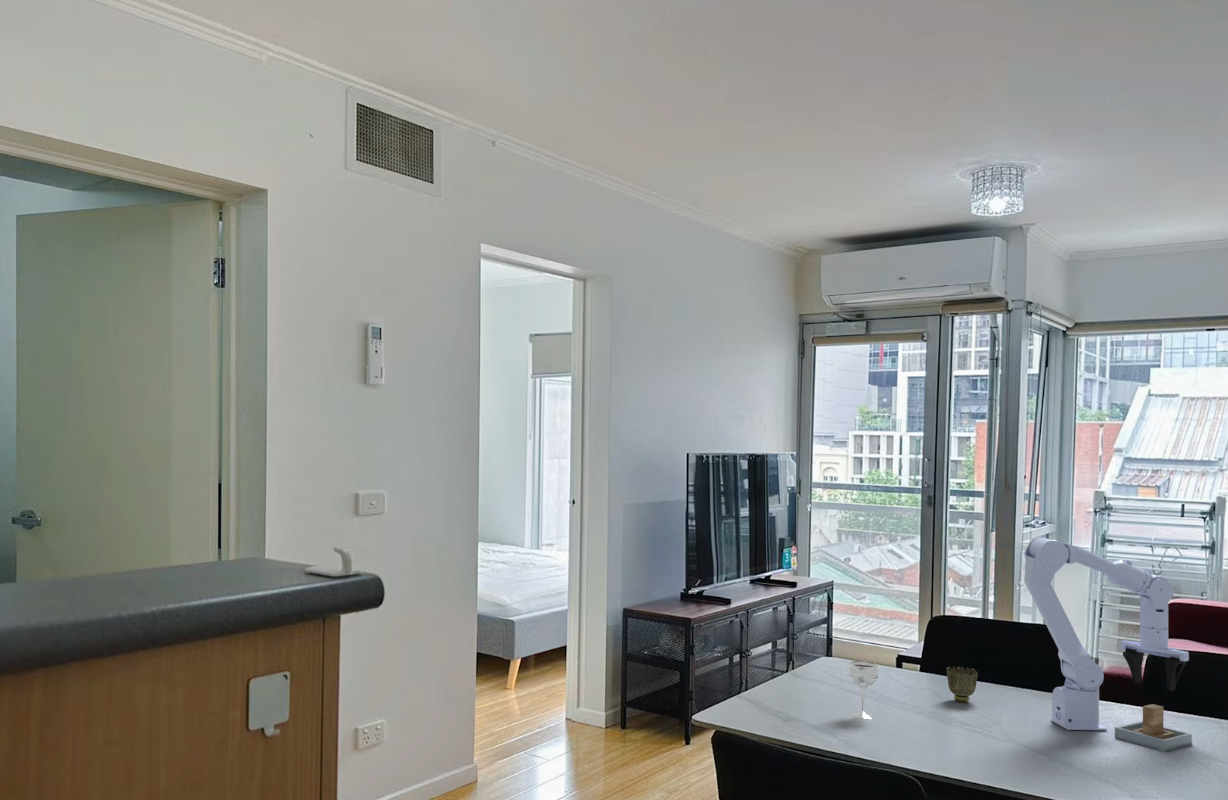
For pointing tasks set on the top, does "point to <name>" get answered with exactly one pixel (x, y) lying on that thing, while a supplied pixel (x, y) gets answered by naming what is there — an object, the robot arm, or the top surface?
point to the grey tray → (1153, 737)
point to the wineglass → (863, 680)
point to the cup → (961, 682)
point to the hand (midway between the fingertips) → (1153, 686)
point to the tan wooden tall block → (1153, 719)
